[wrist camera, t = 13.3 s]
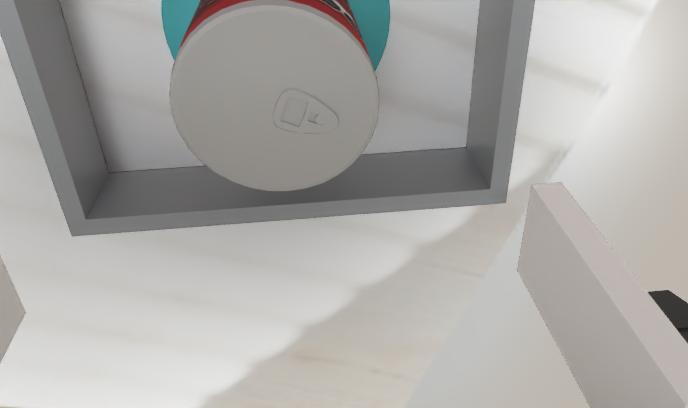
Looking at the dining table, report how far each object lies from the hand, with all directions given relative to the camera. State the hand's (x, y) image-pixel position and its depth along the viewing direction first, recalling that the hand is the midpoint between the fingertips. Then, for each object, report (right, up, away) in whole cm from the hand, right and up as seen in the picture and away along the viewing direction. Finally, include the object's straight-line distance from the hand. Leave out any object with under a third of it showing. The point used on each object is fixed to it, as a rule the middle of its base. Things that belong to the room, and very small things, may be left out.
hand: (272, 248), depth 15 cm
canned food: (-2, +11, +17) cm, 20 cm away
